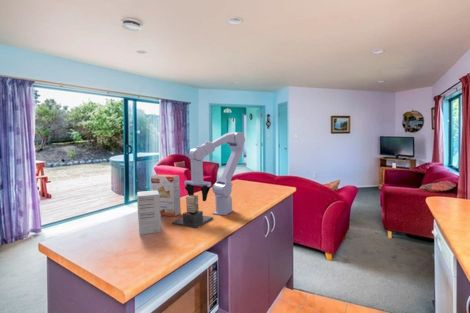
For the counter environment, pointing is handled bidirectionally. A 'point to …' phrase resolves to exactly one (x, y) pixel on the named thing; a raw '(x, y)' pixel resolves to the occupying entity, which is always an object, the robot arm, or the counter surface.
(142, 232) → the supplement box
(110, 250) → the counter surface
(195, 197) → the birch post
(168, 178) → the cracker box
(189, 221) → the stand
